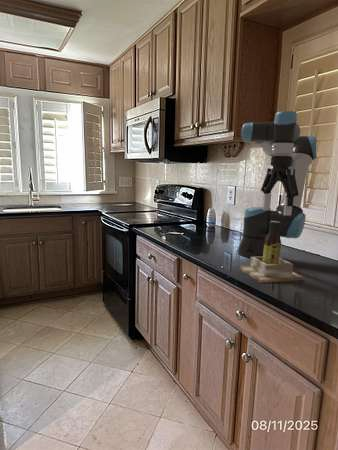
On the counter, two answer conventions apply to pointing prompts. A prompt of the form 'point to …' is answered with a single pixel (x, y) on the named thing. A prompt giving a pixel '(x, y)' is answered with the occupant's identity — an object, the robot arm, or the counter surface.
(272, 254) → the sauce bottle
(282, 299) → the counter surface
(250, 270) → the caddy board
